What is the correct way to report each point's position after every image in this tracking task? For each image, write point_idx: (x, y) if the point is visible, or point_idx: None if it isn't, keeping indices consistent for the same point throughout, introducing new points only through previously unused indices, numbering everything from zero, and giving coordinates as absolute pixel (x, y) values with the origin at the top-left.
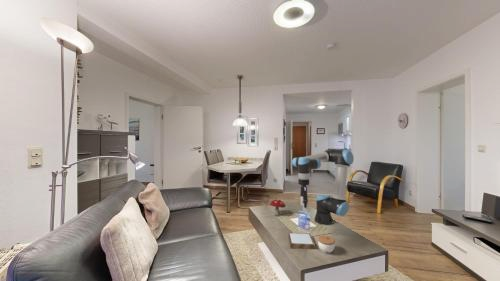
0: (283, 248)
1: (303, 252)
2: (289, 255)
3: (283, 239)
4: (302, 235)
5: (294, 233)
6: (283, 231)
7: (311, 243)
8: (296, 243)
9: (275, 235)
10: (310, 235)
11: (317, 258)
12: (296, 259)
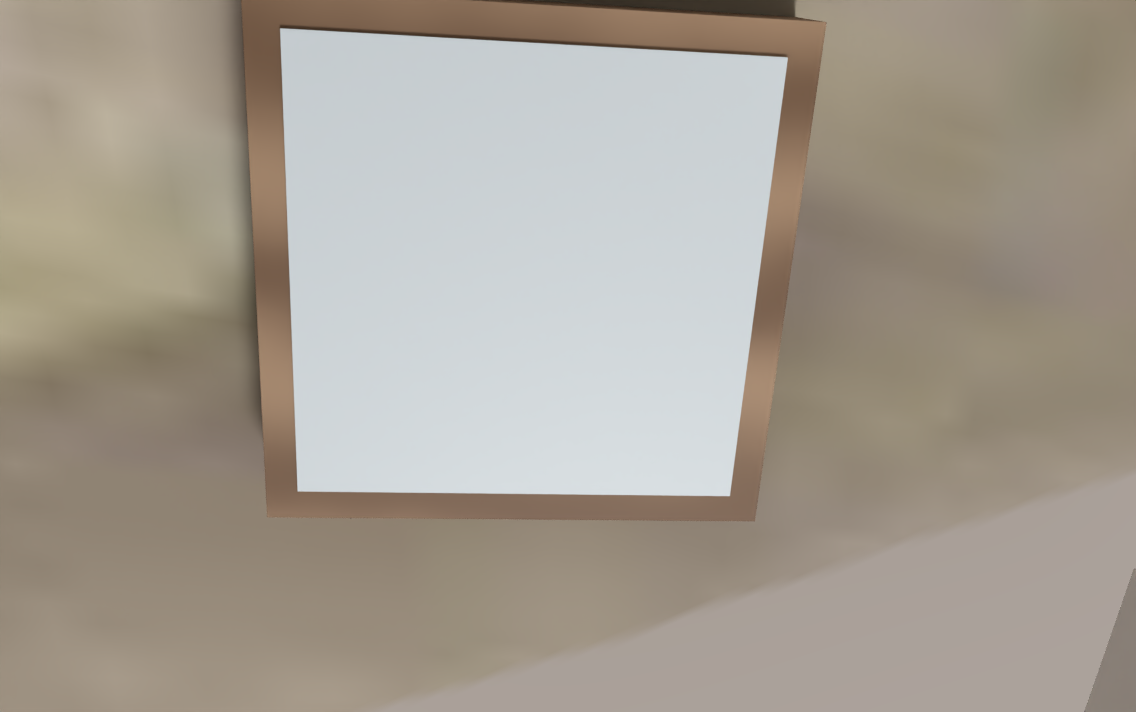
0: (733, 592)
1: (883, 279)
2: (943, 521)
3: (415, 570)
4: (383, 217)
5: (296, 388)
6: (51, 545)
7: (765, 90)
8: (743, 411)
9: (265, 697)
10: (359, 1)
11: (1098, 63)
12: (1063, 431)
